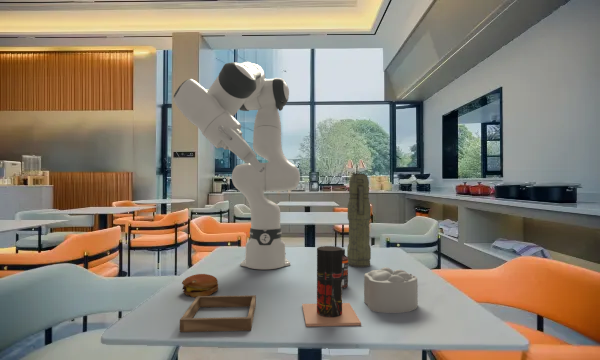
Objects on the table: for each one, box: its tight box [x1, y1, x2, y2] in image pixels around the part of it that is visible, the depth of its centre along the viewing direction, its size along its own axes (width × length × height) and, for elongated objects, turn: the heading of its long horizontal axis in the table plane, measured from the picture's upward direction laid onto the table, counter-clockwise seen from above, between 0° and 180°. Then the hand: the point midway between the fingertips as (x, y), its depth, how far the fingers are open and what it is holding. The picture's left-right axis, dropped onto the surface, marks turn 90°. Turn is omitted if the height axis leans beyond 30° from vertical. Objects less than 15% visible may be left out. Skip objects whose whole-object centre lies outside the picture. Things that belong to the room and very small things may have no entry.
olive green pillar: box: [346, 173, 372, 268], centre depth 128 cm, size 9×12×35 cm
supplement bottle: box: [341, 247, 349, 289], centre depth 100 cm, size 6×6×11 cm
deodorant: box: [316, 245, 343, 317], centre depth 78 cm, size 6×6×15 cm
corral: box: [179, 294, 257, 333], centre depth 76 cm, size 15×15×2 cm
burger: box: [181, 273, 219, 298], centre depth 94 cm, size 10×9×5 cm
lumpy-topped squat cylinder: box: [363, 266, 419, 314], centre depth 85 cm, size 10×13×9 cm
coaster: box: [302, 302, 362, 328], centre depth 78 cm, size 12×12×1 cm
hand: (262, 170), depth 86 cm, fingers open, 8 cm apart
